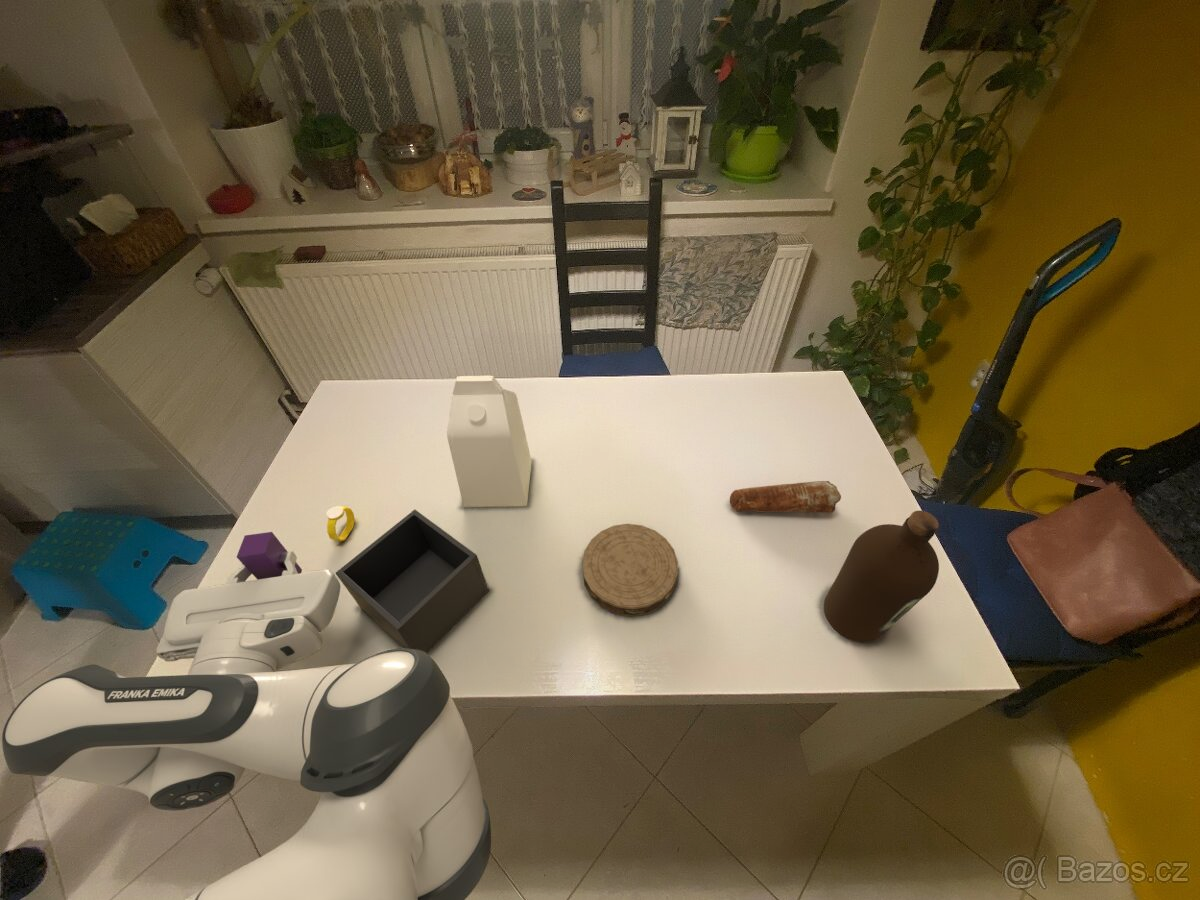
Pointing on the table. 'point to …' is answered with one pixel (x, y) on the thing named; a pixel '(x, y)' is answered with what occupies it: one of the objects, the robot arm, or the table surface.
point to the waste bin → (415, 582)
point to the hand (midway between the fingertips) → (271, 556)
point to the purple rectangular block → (263, 555)
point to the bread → (787, 498)
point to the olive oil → (883, 578)
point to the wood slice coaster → (629, 569)
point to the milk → (488, 444)
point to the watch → (334, 515)
